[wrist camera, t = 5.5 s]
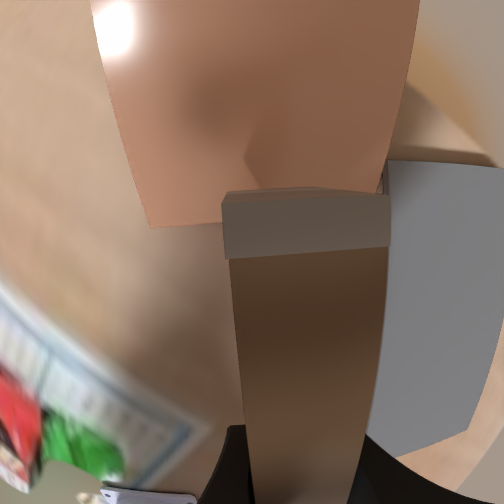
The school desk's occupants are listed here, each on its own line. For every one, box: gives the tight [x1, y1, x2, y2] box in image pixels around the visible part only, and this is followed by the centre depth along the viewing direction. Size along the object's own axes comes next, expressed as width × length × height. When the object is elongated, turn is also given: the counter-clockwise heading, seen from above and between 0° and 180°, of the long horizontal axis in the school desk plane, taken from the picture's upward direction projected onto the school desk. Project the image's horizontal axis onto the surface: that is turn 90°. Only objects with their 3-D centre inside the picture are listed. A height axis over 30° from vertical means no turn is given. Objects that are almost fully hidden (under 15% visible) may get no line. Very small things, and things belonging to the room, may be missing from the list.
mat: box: [366, 160, 504, 458], centre depth 16 cm, size 20×10×1 cm, turn 4°
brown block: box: [221, 187, 391, 504], centre depth 9 cm, size 15×3×5 cm, turn 4°
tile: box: [90, 0, 420, 229], centre depth 10 cm, size 2×9×9 cm
